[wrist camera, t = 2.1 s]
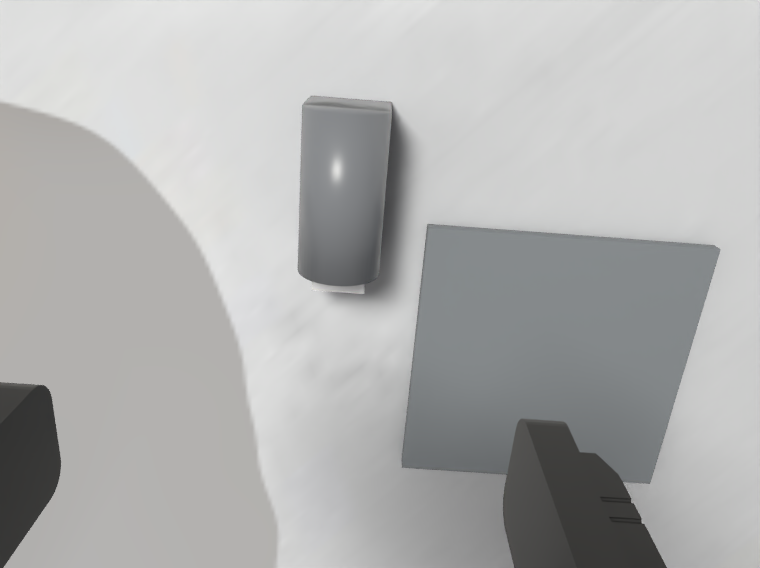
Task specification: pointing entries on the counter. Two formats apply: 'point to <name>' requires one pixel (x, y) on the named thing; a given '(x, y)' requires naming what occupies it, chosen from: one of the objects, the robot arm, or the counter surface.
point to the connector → (342, 191)
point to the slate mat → (550, 344)
